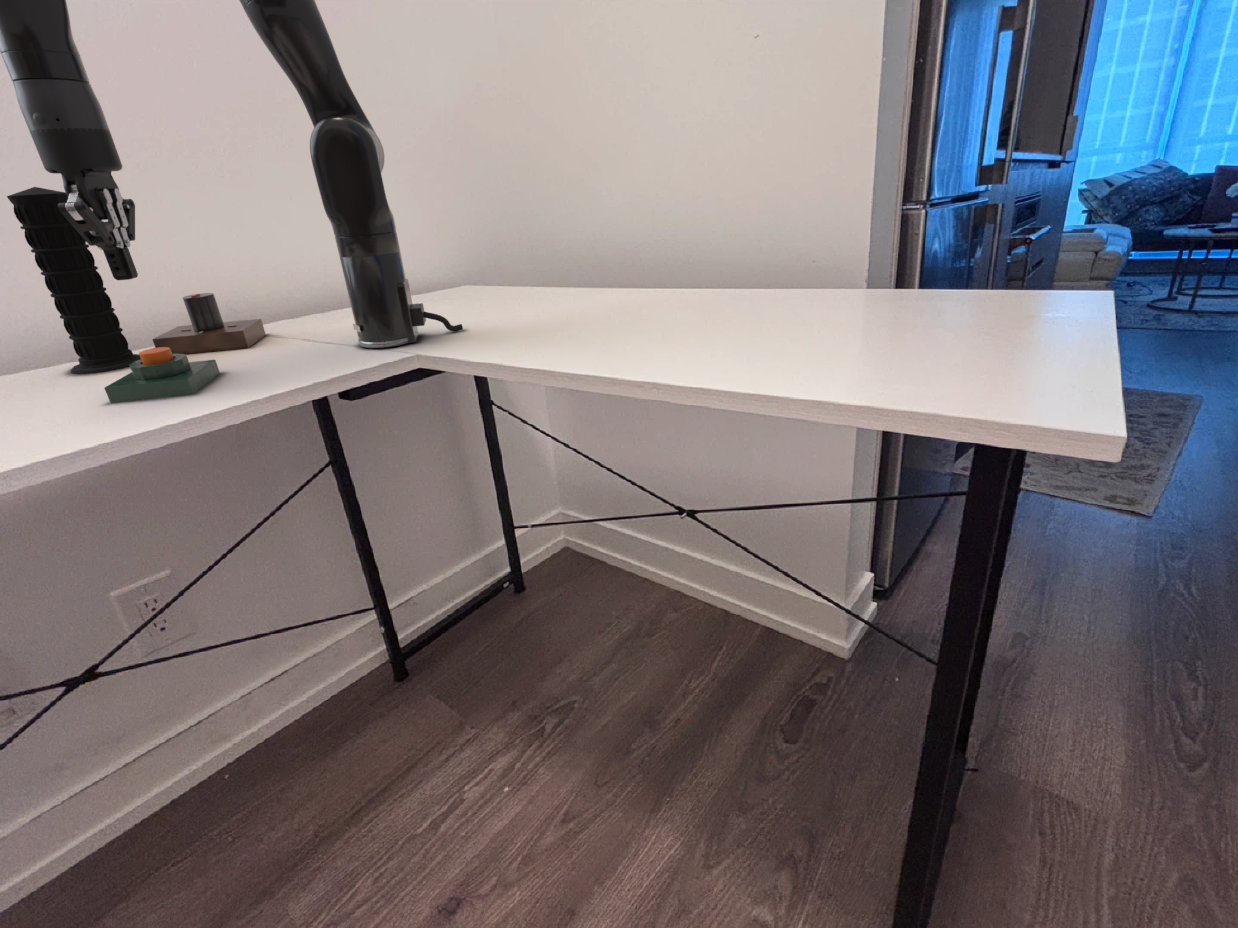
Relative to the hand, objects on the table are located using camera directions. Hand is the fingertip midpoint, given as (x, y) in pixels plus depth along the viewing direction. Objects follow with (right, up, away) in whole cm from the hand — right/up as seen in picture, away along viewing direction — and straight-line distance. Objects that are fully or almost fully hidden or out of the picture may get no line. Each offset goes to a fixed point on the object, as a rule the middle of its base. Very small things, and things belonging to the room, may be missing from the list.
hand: (127, 278), depth 81 cm
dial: (-8, 0, +28) cm, 29 cm away
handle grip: (-18, -8, +20) cm, 28 cm away
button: (+1, -10, +5) cm, 11 cm away
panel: (-7, -3, +29) cm, 30 cm away
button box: (+1, -13, +6) cm, 15 cm away
